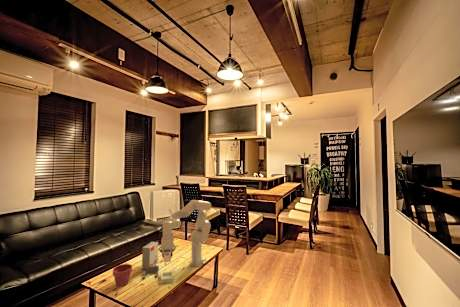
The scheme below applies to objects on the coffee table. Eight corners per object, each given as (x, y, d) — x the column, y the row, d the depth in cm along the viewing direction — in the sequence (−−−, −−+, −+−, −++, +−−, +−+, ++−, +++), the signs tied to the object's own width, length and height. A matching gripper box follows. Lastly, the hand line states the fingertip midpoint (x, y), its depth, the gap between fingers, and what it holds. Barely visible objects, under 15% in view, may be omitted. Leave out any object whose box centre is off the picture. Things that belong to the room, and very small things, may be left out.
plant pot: (127, 277, 188) (127, 261, 188) (135, 282, 179) (135, 267, 179) (109, 284, 177) (109, 268, 177) (117, 291, 168) (117, 274, 168)
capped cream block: (170, 257, 189) (170, 248, 189) (170, 261, 182) (170, 251, 182) (164, 258, 188) (164, 248, 188) (163, 262, 181) (163, 252, 181)
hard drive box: (149, 270, 199) (149, 248, 199) (141, 269, 200) (141, 247, 201) (158, 262, 214) (158, 242, 215) (151, 261, 216) (151, 241, 216)
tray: (173, 274, 191) (173, 271, 191) (172, 281, 180) (173, 278, 180) (161, 276, 189) (161, 272, 189) (160, 283, 178) (160, 279, 178)
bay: (158, 271, 198) (158, 265, 198) (157, 277, 187) (157, 271, 187) (145, 272, 195) (145, 267, 195) (143, 279, 185) (143, 273, 185)
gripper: (177, 233, 191) (177, 254, 191) (157, 235, 187) (157, 256, 187) (177, 236, 184) (177, 258, 184) (156, 238, 180) (156, 260, 180)
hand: (167, 257), depth 185 cm, fingers closed on capped cream block, 5 cm apart
